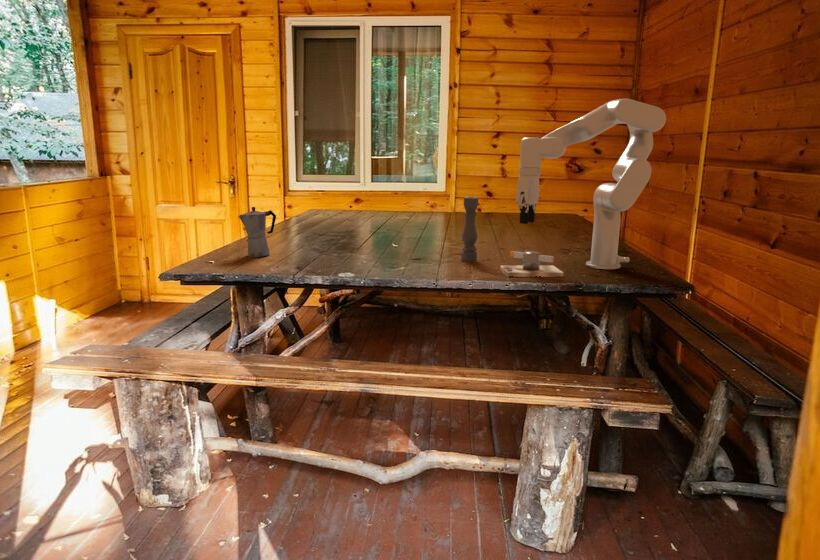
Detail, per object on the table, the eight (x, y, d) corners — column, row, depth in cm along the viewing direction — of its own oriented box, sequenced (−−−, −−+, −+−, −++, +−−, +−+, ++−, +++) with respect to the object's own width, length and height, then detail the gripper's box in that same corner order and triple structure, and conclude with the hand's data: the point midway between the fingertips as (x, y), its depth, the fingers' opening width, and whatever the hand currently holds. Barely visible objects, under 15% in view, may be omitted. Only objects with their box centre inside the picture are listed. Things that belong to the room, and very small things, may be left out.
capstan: (555, 270, 201) (556, 254, 200) (548, 272, 196) (549, 256, 195) (514, 264, 211) (515, 248, 209) (506, 266, 206) (507, 251, 204)
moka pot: (236, 255, 230) (233, 206, 226) (272, 251, 239) (270, 204, 235) (245, 259, 223) (242, 208, 218) (281, 255, 232) (279, 206, 227)
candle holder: (463, 262, 222) (465, 198, 216) (459, 259, 227) (461, 196, 222) (478, 261, 223) (481, 198, 217) (473, 258, 229) (476, 196, 223)
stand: (552, 269, 210) (553, 264, 210) (563, 276, 198) (563, 271, 198) (499, 269, 209) (500, 264, 209) (507, 276, 197) (507, 271, 197)
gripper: (530, 171, 212) (527, 219, 217) (509, 172, 199) (507, 224, 203) (549, 172, 208) (545, 221, 212) (529, 173, 195) (526, 226, 199)
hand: (526, 222), depth 208 cm, fingers open, 4 cm apart
